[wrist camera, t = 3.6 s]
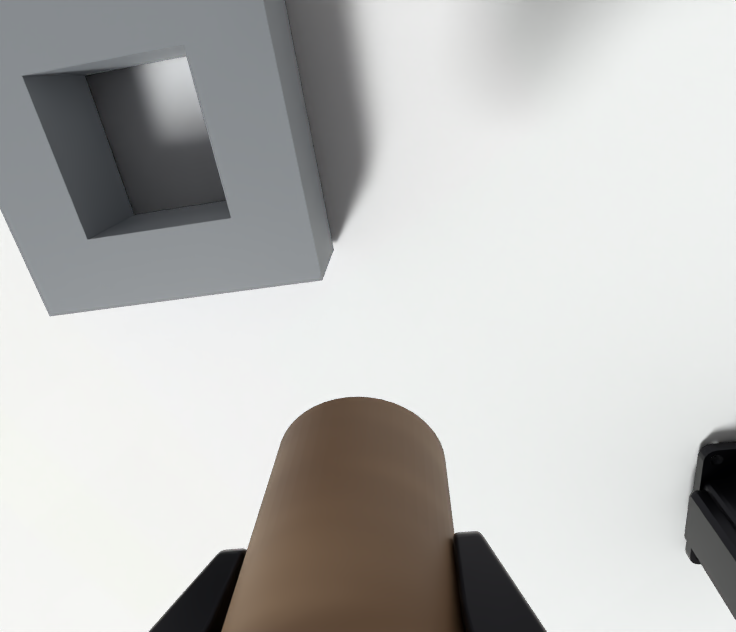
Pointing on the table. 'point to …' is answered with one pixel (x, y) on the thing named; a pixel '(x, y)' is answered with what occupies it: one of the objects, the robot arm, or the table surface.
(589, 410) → the table surface
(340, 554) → the peg
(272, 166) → the socket
